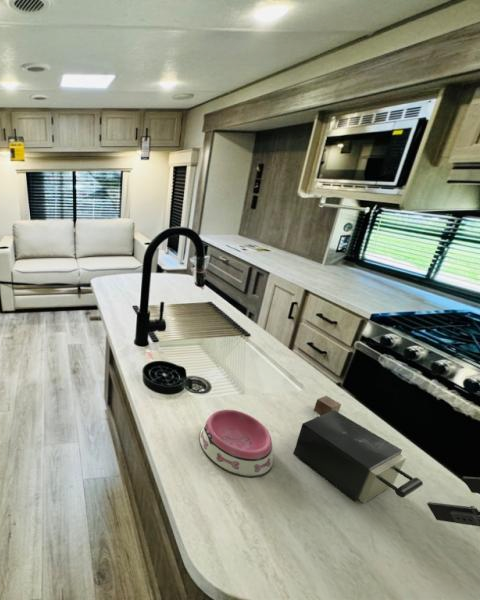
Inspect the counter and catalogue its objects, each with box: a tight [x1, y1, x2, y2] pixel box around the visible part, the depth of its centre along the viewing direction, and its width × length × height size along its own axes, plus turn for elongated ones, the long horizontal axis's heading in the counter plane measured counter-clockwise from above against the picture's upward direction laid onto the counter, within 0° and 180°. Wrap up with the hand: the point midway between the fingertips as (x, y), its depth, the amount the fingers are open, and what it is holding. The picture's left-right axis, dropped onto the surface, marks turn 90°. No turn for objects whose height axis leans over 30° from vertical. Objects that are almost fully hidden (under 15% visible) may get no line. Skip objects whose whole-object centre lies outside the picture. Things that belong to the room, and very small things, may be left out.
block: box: [313, 395, 342, 416], centre depth 97 cm, size 4×4×4 cm
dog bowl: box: [198, 409, 274, 478], centre depth 85 cm, size 18×19×7 cm
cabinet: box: [293, 410, 403, 503], centre depth 78 cm, size 15×13×11 cm
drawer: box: [358, 453, 424, 504], centre depth 74 cm, size 18×11×9 cm, turn 22°
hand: (450, 497), depth 60 cm, fingers open, 13 cm apart
